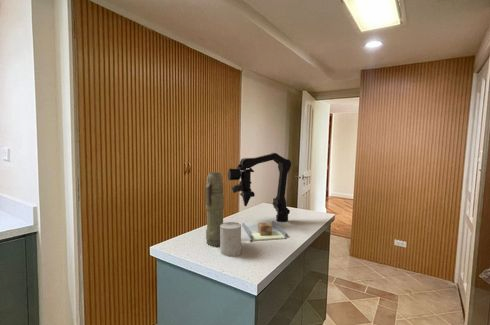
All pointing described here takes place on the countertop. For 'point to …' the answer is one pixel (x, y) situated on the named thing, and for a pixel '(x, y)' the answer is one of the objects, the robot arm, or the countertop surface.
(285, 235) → the board
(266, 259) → the countertop surface
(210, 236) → the thermos
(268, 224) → the walnut block
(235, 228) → the grey concrete cylinder
